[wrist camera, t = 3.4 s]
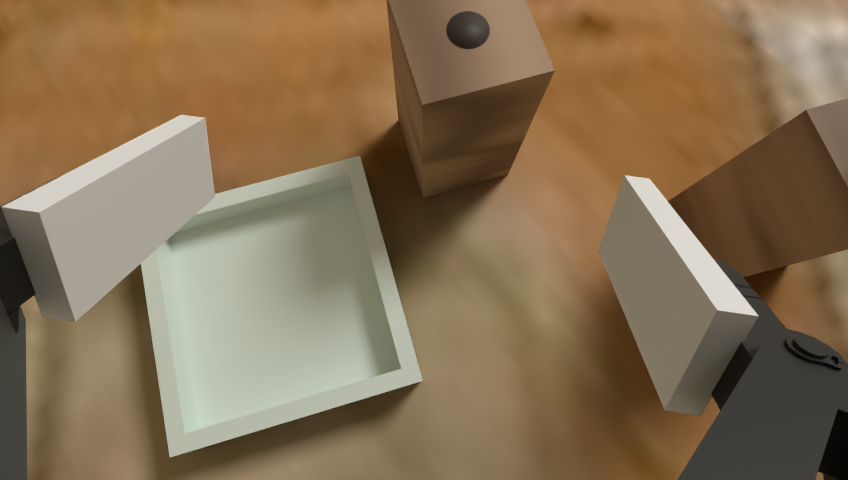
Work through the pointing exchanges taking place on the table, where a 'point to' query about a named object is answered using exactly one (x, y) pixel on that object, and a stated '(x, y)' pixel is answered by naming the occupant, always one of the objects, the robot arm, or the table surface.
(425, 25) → the block
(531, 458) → the table surface
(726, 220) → the block
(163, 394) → the tray
